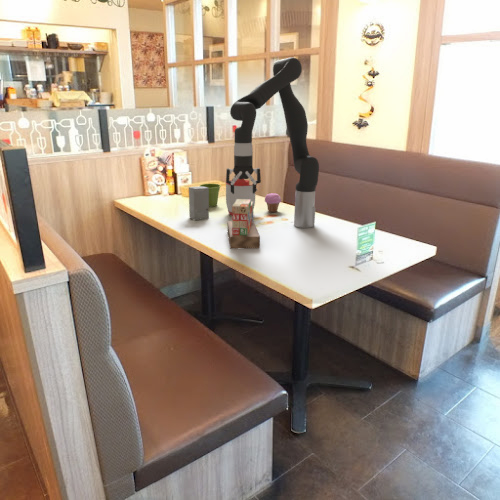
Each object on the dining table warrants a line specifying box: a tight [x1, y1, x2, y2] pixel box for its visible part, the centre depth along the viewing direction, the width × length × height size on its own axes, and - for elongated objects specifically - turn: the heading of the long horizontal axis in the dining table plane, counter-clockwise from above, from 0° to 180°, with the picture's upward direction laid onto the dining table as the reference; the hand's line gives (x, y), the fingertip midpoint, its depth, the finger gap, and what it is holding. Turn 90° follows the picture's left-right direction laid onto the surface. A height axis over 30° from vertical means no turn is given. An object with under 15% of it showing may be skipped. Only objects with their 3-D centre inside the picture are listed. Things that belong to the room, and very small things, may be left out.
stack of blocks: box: [231, 199, 254, 235], centre depth 190 cm, size 21×6×12 cm, turn 173°
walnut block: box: [226, 220, 261, 250], centre depth 193 cm, size 12×24×5 cm, turn 6°
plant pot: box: [199, 183, 222, 207], centre depth 250 cm, size 12×12×11 cm
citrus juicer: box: [225, 179, 258, 216], centre depth 230 cm, size 16×17×20 cm
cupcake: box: [264, 192, 282, 213], centre depth 239 cm, size 9×9×10 cm
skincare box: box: [188, 185, 210, 221], centre depth 223 cm, size 8×7×16 cm
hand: (243, 193), depth 187 cm, fingers open, 8 cm apart
